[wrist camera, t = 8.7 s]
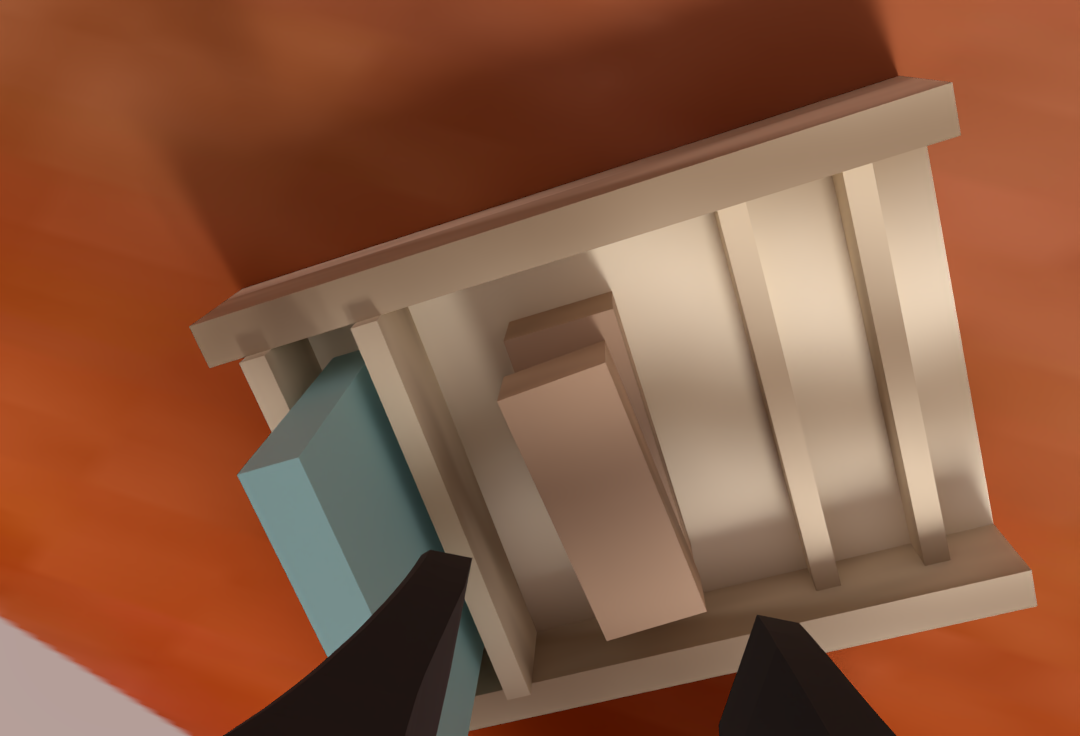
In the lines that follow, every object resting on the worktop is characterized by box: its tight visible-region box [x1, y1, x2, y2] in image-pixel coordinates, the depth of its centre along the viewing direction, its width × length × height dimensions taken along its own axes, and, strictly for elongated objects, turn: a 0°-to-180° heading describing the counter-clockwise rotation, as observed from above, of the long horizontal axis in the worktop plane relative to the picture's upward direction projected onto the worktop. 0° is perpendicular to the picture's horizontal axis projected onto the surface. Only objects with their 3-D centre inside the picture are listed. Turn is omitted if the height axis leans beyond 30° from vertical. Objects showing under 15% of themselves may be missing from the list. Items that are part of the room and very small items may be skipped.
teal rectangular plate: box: [237, 350, 484, 736], centre depth 19 cm, size 8×1×6 cm, turn 18°
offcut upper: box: [497, 340, 707, 641], centre depth 19 cm, size 6×2×1 cm, turn 22°
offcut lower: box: [503, 291, 694, 560], centre depth 21 cm, size 7×2×1 cm, turn 18°
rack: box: [189, 76, 1037, 731], centre depth 20 cm, size 12×16×3 cm
